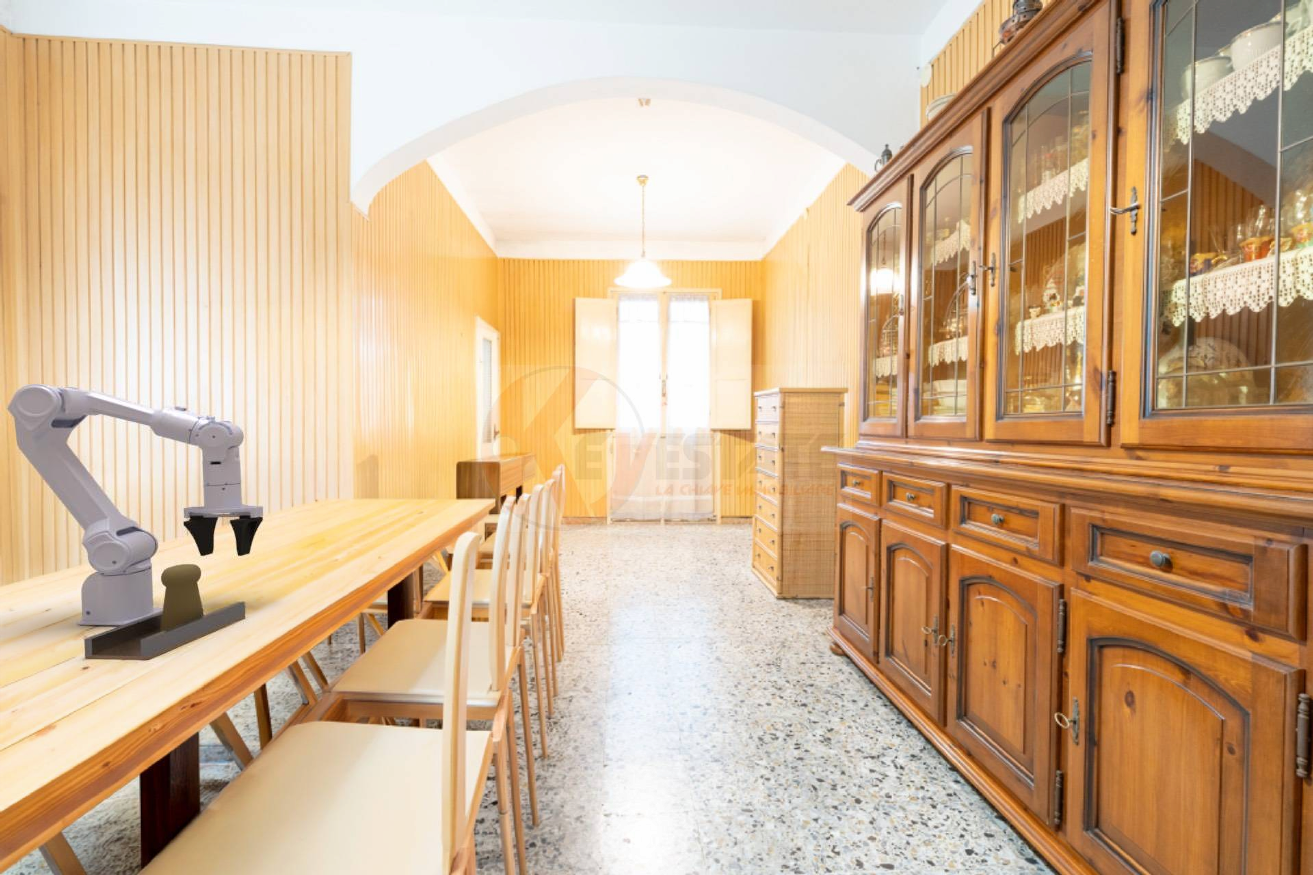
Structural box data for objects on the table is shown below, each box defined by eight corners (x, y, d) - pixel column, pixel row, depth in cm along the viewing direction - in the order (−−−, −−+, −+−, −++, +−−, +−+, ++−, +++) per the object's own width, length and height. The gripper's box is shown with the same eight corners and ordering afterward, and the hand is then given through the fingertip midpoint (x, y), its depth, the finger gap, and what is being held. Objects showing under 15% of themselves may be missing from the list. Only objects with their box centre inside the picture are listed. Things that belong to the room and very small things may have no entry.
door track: (85, 658, 85) (84, 638, 85) (192, 617, 103) (191, 601, 103) (148, 659, 84) (147, 639, 84) (245, 618, 102) (244, 601, 102)
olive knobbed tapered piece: (178, 637, 92) (176, 570, 91) (150, 634, 93) (147, 569, 93) (215, 624, 97) (212, 561, 97) (187, 622, 99) (185, 560, 99)
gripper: (274, 481, 111) (276, 549, 111) (205, 482, 112) (208, 550, 112) (245, 485, 104) (248, 558, 104) (172, 486, 105) (175, 558, 105)
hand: (225, 554), depth 107 cm, fingers open, 7 cm apart
